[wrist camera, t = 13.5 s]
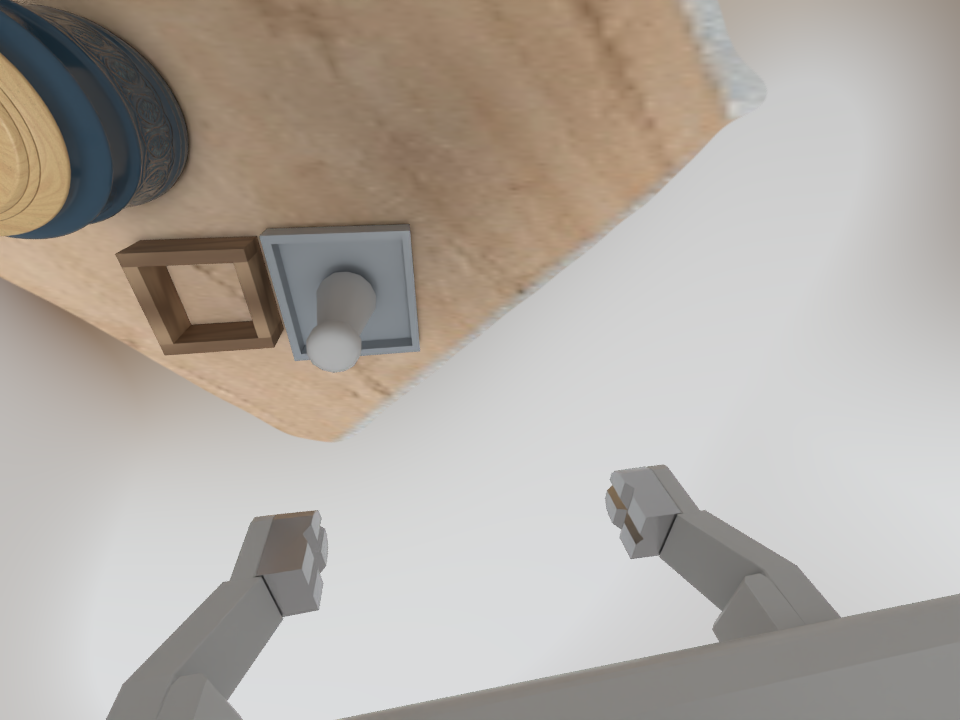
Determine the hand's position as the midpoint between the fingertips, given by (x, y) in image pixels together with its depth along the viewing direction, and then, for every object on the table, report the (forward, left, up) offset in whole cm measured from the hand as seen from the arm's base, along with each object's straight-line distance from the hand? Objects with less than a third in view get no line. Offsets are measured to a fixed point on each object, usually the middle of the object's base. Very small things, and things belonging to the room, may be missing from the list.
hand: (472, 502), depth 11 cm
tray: (+8, -8, -35) cm, 37 cm away
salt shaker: (+8, -8, -35) cm, 36 cm away
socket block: (+7, -21, -35) cm, 41 cm away
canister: (-8, -25, -35) cm, 44 cm away
